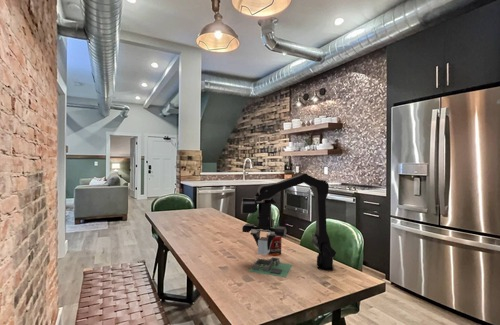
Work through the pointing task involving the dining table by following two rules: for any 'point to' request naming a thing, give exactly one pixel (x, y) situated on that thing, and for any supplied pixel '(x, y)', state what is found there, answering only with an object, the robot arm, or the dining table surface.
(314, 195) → the robot arm
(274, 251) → the canned food
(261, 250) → the plug
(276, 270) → the board
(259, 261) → the grey square frame
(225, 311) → the dining table surface
